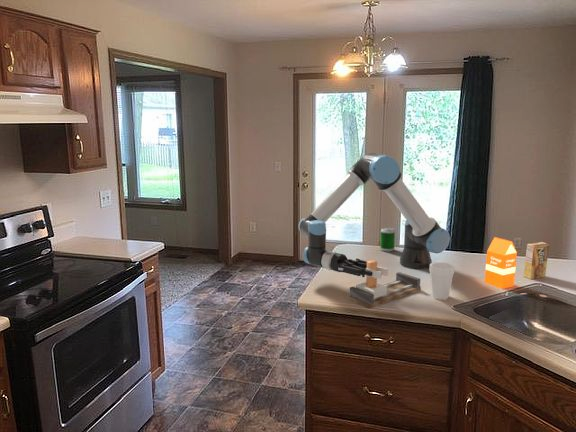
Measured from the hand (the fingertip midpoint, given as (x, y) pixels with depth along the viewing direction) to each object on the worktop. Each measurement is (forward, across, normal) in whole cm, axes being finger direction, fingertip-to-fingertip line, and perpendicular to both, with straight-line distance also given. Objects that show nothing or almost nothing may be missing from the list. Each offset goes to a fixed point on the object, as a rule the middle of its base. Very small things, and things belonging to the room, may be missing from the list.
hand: (383, 273), depth 176 cm
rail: (-4, -8, -12) cm, 15 cm away
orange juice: (+26, -51, -12) cm, 59 cm away
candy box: (+35, -71, -12) cm, 80 cm away
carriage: (-5, 0, -9) cm, 11 cm away
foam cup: (+14, -21, -12) cm, 28 cm away
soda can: (-37, -66, -12) cm, 77 cm away
